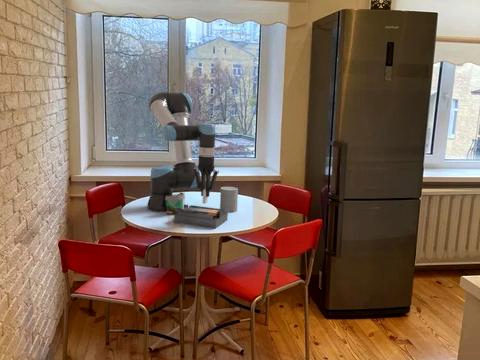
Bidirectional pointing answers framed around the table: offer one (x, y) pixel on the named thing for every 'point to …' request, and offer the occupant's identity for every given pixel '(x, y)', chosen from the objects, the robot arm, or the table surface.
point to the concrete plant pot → (229, 199)
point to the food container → (174, 203)
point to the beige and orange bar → (200, 211)
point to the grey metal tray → (201, 217)
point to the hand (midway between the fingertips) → (205, 202)
